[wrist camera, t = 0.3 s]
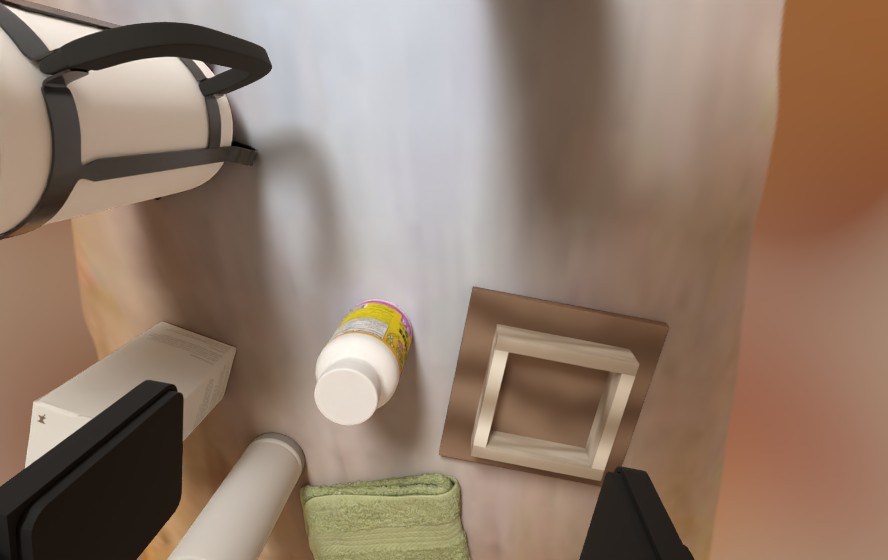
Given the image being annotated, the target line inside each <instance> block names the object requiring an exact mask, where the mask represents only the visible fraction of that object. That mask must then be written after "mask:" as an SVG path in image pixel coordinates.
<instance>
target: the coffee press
mask: <svg viewBox="0 0 888 560" xmlns="http://www.w3.org/2000/svg"><path fill="white" fill-rule="evenodd" d="M203 62H207V63H211V64H216V65H221V66H225V67H230V68H232V69H230V70H228V71H225V72H223V73H221V74H218V75H216V76H215V75H214V74H213V73H212V71H211V70H210V69H209V68H208V67H207V66H206V65H205V64H204V63H203ZM271 69H272V65H271V62H270V60H269V57H268V55H267V52H266V50H265V49H264V48H263V47H261V46H259V45H257V44H254V43H252V42H249V41H246V40H243V39H240V38H237V37H234V36H231V35H228V34H225V33H222V32H219V31H216V30H213V29H210V28H206V27H202V26H198V25H193V24H187V23H176V22H153V23H141V24H133V25H126V26H120V25H116V24H112V23H109V22H105V21H101V20H97V19H94V18H90V17H86V16H82V15H79V14H75V13H71V12H67V11H63V10H60V9H56V8H52V7H48V6H45V5H41V4H37V3H33V2H29V1H26V0H0V235H1V236H0V240H2V239H5V238H10V237H14V236H18V235H22V234H25V233H27V232H30V231H33V230H35V229H37V228H39V227H40V226H42V225H45V224H49V223H53V222H58V221H62V220H66V219H70V218H75V217H79V216H83V215H87V214H92V213H96V212H100V211H104V210H108V209H113V208H117V207H121V206H125V205H129V204H134V203H138V202H142V201H146V200H150V199H155V200H159V199H160V198H161V197H163V196H167V195H171V194H175V193H179V192H183V191H186V190H190V189H193V188H195V187H198V186H200V185H202V184H203V183H205V182H207V181H208V180H209V179H211V178H212V177H213V176H214V175H215V174H216V173H217V172H218V171H219V169H220V168H221V167H222V165H223V163H224V162H226V161H230V162H236V163H241V164H245V165H250V166H252V165H253V162H254V160H255V157H256V154H257V150H256V149H255V148H253V147H251V146H249V145H246V144H243V143H239V142H236V141H233V140H232V136H233V121H232V114H231V109H230V106H229V103H228V100H227V97H226V95H225V94H227V93H229V92H232V91H234V90H237V89H239V88H242V87H244V86H246V85H248V84H251V83H253V82H255V81H257V80H259V79H261V78H262V77H264V76H265V75H267V74H268V73H269V72H270V71H271ZM3 234H4V235H3Z"/></svg>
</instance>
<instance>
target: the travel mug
mask: <svg viewBox="0 0 888 560" xmlns="http://www.w3.org/2000/svg"><path fill="white" fill-rule="evenodd" d="M304 465H305V458H304V454H303V452H302V450H301V448H300V447H299V445H298V444H297V443H296V442H295V441H294V440H292V439H291V438H289V437H287V436H285V435H282V434H278V433H266V434H262V435H260V436H258V437H256V438H255V439H253V441H252V442H251V443H250V444H249V446H248V447H247V449H246V450H245V452H244V453H243V454H242V456H241V457H240V458H239V460H238V461H237V463H236V464H235V465H234V467H233V468H232V470H231V471H230V472H229V474H228V475H227V477H226V478H225V479H224V481H223V482H222V484H221V485H220V486H219V488H218V489H217V491H216V492H215V493H214V495H213V496H212V498H211V499H210V500H209V502H208V503H207V505H206V506H205V507H204V509H203V510H202V512H201V513H200V514H199V516H198V517H197V519H196V520H195V521H194V523H193V524H192V526H191V527H190V528H189V530H188V531H187V533H186V534H185V535H184V537H183V538H182V540H181V541H180V542H179V544H178V545H177V547H176V548H175V549H174V551H173V552H172V554H171V555H170V556H169V558H168V559H167V560H257V559H258V558H259V556H260V554H261V552H262V550H263V548H264V546H265V544H266V542H267V540H268V538H269V536H270V534H271V532H272V530H273V528H274V526H275V524H276V522H277V520H278V518H279V516H280V514H281V512H282V510H283V508H284V506H285V504H286V502H287V501H288V499H289V497H290V495H291V493H292V491H293V489H294V487H295V485H296V483H297V481H298V479H299V477H300V475H301V473H302V471H303V469H304Z"/></svg>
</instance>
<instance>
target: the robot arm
mask: <svg viewBox="0 0 888 560" xmlns="http://www.w3.org/2000/svg"><path fill="white" fill-rule="evenodd" d="M183 408H184V398H183V394H182V393H181V392H178V391H177V387H176V386H175V385H174V384H170V383H164V382H159V381H153V380H145V381H143V382H142V383H140V384H139V385H138V386H136V387H135V388H134V389H132V390H131V391H130V392H128V393H127V394H125V395H124V396H123V397H121V398H120V399H119V400H117V401H116V402H115V403H113V404H112V405H111V406H109V407H108V408H106V409H105V410H104V411H102V412H101V413H100V414H98V415H97V416H96V417H94V418H93V419H92V420H90V421H89V422H87V423H86V424H85V425H83V426H82V427H81V428H79V429H78V430H77V431H75V432H74V433H73V434H71V435H70V436H68V437H67V438H66V439H64V440H63V441H62V442H60V443H59V444H58V445H56V446H55V447H54V448H52V449H51V450H49V451H48V452H47V453H45V454H44V455H43V456H41V457H40V458H39V459H37V460H36V461H35V462H33V463H32V464H30V465H29V466H28V467H26V468H25V469H24V470H23V471H21V472H20V473H18V474H17V475H16V476H14V477H13V478H11V479H10V480H9V481H7V482H6V483H5V484H3V485H2V486H1V487H0V560H137V558H138V557H139V556H140V555H141V553H142V552H143V551H144V550H145V548H146V547H147V546H148V545H149V543H150V542H151V541H152V540H153V538H154V537H155V536H156V535H157V533H158V532H159V531H160V530H161V528H162V527H163V526H164V525H165V523H166V522H167V521H168V520H169V518H170V517H171V516H172V515H173V514H174V512H175V511H176V509H177V507H178V505H179V502H180V499H181V494H182V453H183ZM579 560H694V558H693V556H692V554H691V552H690V551H689V549H688V548H687V547H686V546H685V545H683V544H682V542H681V540H680V538H679V536H678V534H677V532H676V530H675V528H674V526H673V524H672V522H671V520H670V518H669V516H668V514H667V512H666V510H665V508H664V506H663V504H662V502H661V500H660V498H659V496H658V494H657V492H656V490H655V488H654V486H653V484H652V482H651V480H650V478H649V476H648V474H647V473H646V472H645V471H642V470H636V469H631V468H625V467H620V466H619V467H617V468H616V469H615V471H614V472H607V473H606V475H605V478H604V481H603V484H602V488H601V491H600V494H599V497H598V501H597V504H596V507H595V510H594V514H593V517H592V520H591V523H590V527H589V530H588V533H587V536H586V540H585V543H584V546H583V550H582V553H581V556H580V559H579Z"/></svg>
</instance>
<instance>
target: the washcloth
mask: <svg viewBox="0 0 888 560" xmlns="http://www.w3.org/2000/svg"><path fill="white" fill-rule="evenodd" d="M460 493H461V492H460V486H459V483H458V482H457V480H456V479H455V478H453V477H451V476H448V475H442V474H435V473H433V474H423V475H421V476H406V477H404V478H396V477H395V478H389V479H382V480H376V481H373V482H369V481H367V482H365V481H364V482H360V481H358V482H357V483H356V482H353V483H350V482H349V483H348V484H336V485H332V486H326V485H323V486H320V487H319V486H315V487H312V486H309V485H306V486H304V487H301V489H300V500H301V504H302V507H303V514H304V522H305V530H306V535H307V537H308V541H309V548H310V550H311V551H312V553H313V556H314V560H471V559H470V556H469V551H468V548H467V542H466V535H465V533H466V532H465V531H464V530H463V528H462V524H461V519H460V514H459V513H460V510H461V509H460V508H461V507H460V506H461V505H460V504H461V502H460V500H461V499H460Z"/></svg>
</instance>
